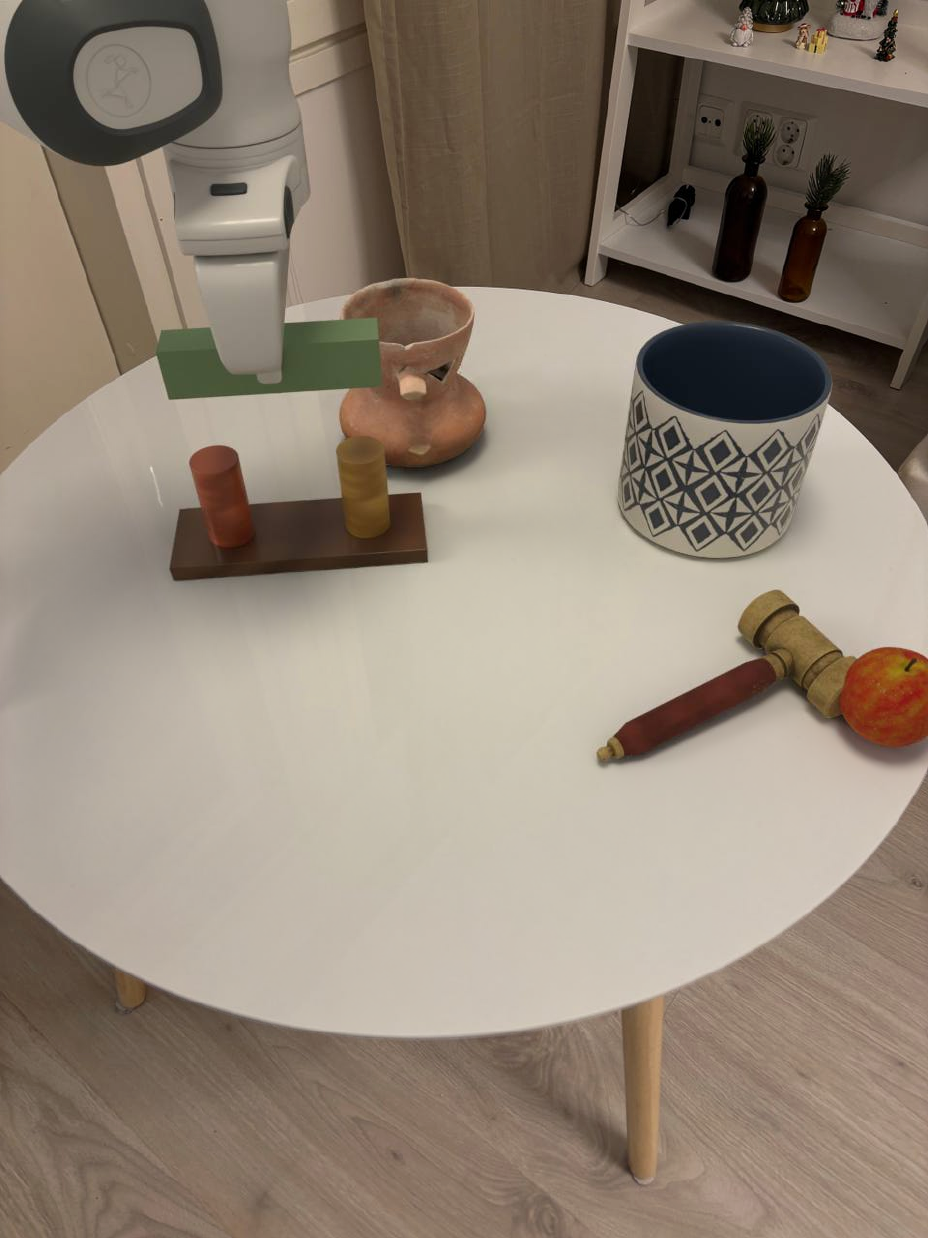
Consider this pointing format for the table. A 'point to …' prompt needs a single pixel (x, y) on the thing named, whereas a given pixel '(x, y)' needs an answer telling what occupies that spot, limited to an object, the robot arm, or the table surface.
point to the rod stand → (296, 521)
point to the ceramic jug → (416, 373)
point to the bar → (308, 360)
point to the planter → (720, 436)
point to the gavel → (747, 677)
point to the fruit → (887, 696)
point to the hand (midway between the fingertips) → (272, 362)
